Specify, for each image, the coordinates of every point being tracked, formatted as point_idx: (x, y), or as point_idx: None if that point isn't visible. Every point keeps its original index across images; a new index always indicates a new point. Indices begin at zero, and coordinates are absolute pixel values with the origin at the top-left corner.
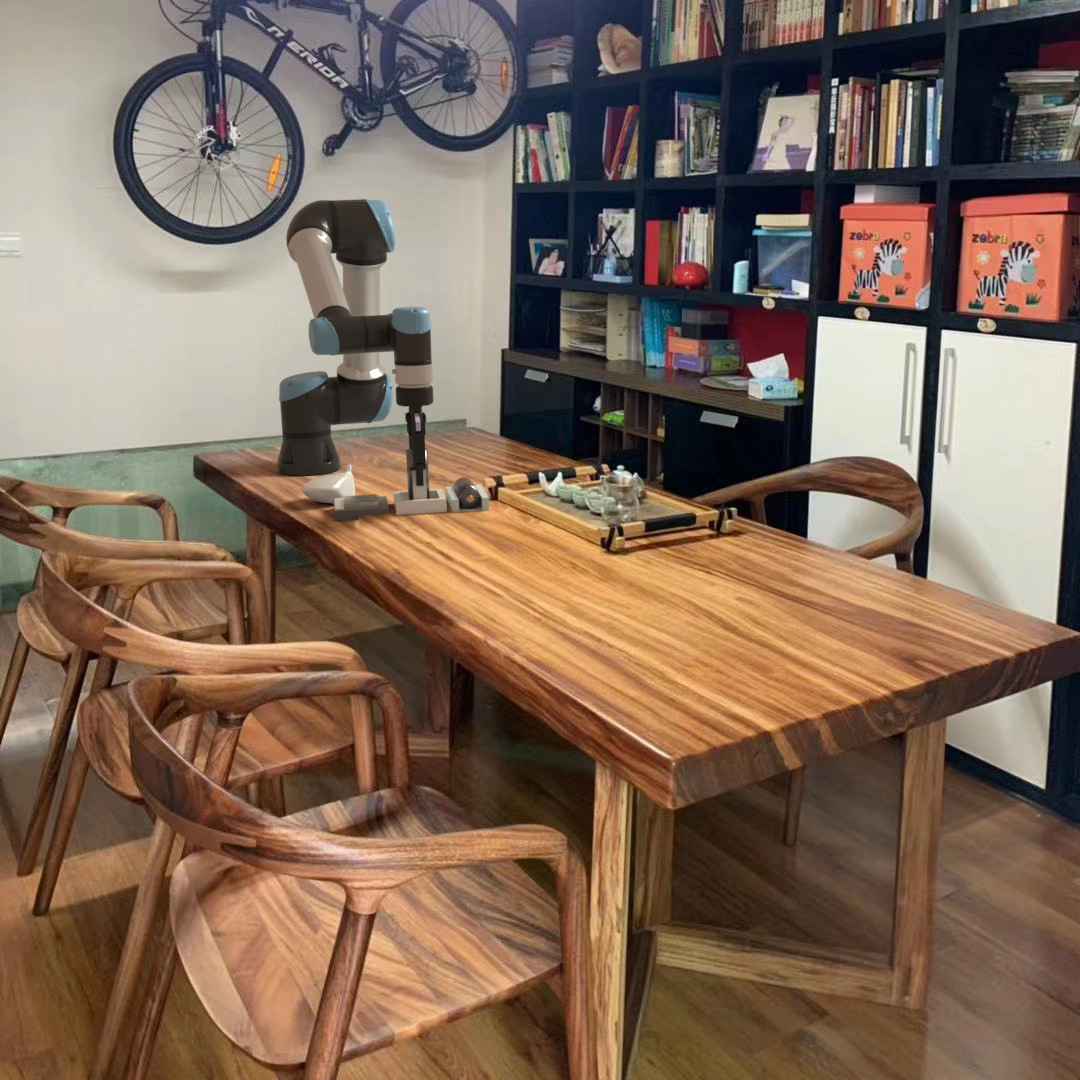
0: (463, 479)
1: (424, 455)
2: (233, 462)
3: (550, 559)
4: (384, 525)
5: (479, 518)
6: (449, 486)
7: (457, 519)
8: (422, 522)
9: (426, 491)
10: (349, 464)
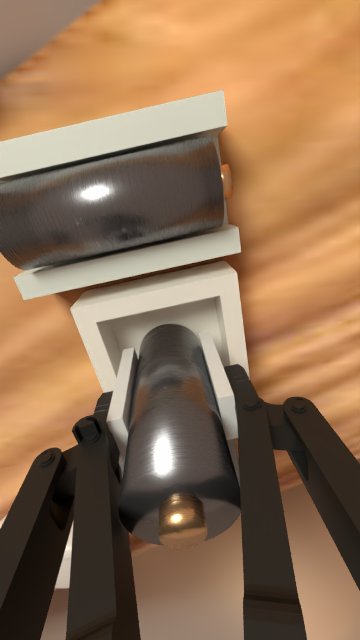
0: (36, 229)
1: (347, 451)
2: None
3: None
4: (293, 389)
5: (268, 148)
6: (21, 286)
7: (268, 223)
8: (283, 315)
9: (214, 345)
10: None
